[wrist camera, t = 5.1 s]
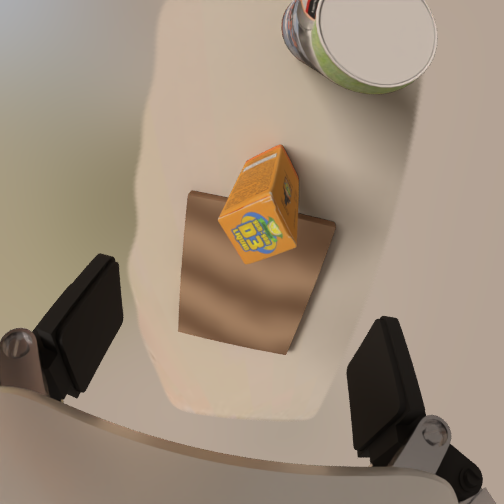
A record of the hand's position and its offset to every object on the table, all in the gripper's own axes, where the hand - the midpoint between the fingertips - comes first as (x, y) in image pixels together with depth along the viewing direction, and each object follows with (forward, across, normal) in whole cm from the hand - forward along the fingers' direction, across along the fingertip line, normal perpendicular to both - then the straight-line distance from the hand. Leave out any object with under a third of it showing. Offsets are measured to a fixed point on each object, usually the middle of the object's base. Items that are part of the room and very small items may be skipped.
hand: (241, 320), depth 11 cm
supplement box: (+16, 0, -1) cm, 16 cm away
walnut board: (+16, 0, +10) cm, 19 cm away
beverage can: (+16, -2, -12) cm, 20 cm away
